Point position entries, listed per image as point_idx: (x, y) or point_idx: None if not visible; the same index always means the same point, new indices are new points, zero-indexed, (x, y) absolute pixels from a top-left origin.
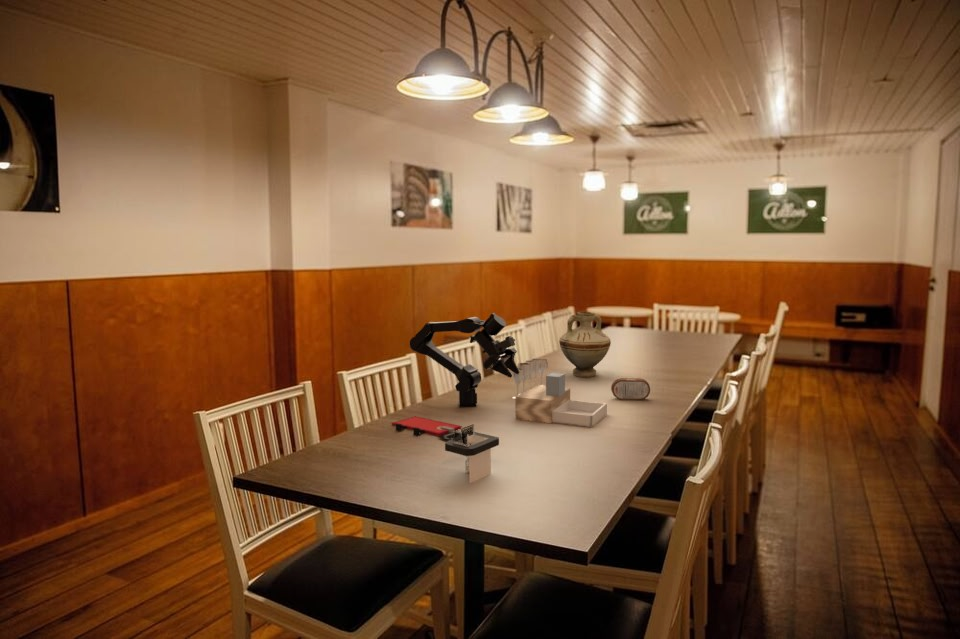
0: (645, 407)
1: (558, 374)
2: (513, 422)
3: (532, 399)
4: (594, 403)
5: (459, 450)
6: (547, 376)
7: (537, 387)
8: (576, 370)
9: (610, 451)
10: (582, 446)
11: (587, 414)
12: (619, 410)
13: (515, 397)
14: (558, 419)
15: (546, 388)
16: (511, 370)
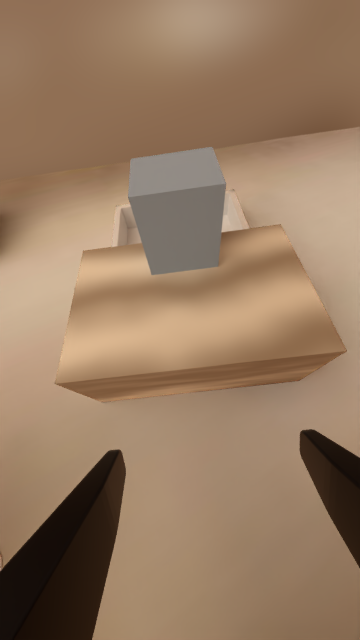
0: (49, 205)
1: (159, 166)
2: (336, 365)
3: (306, 278)
4: (119, 224)
5: None
6: (223, 182)
7: (102, 356)
8: None
9: (326, 161)
10: (344, 186)
11: None
12: (84, 224)
13: (344, 351)
14: None
15: (219, 243)
16: (98, 605)
